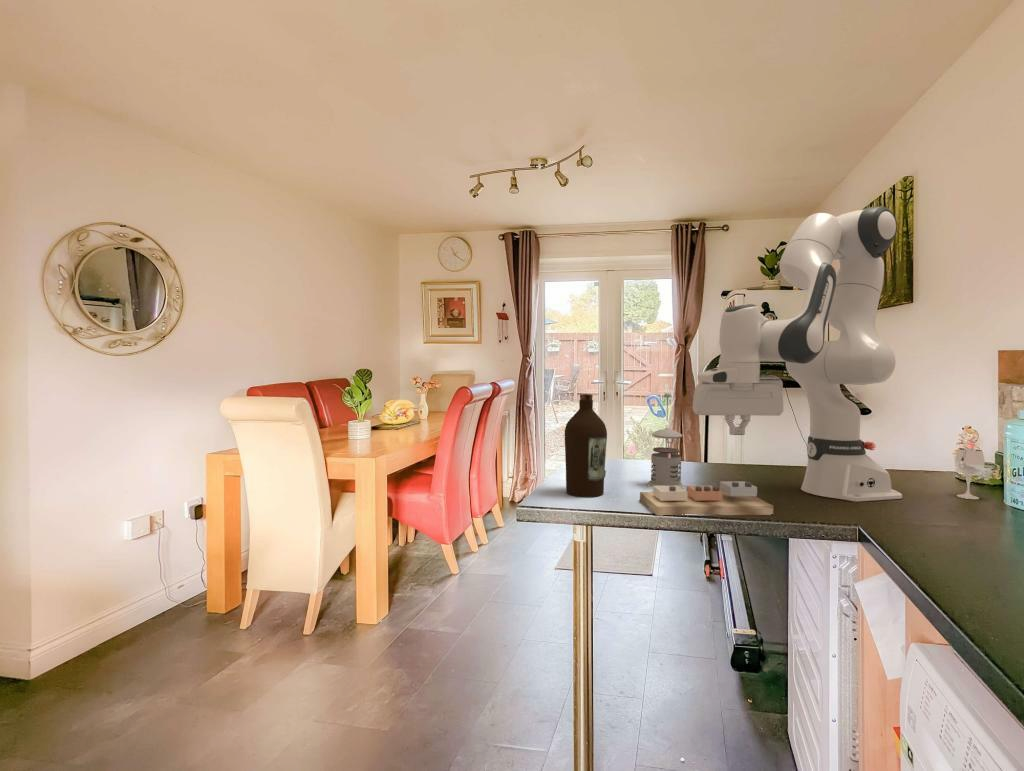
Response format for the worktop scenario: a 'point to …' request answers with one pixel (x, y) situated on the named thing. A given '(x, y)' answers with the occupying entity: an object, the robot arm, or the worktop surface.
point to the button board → (708, 505)
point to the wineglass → (969, 466)
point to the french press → (666, 459)
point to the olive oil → (585, 451)
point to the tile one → (670, 493)
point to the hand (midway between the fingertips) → (737, 434)
